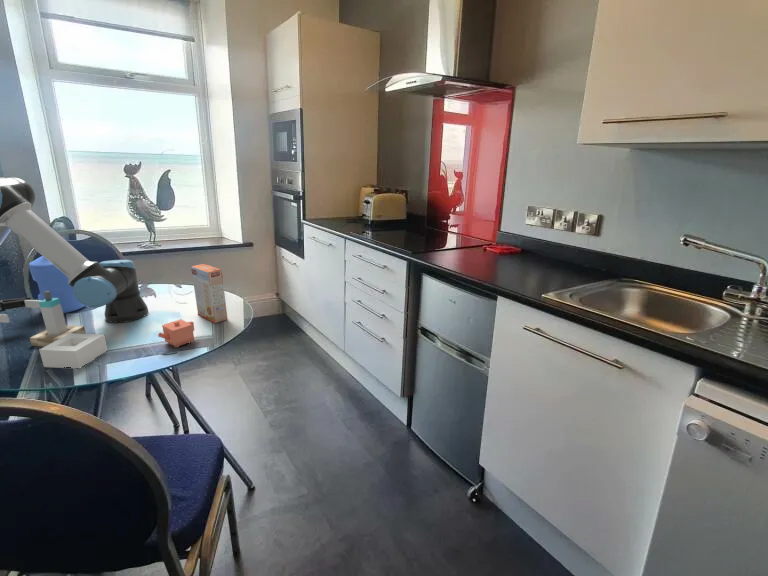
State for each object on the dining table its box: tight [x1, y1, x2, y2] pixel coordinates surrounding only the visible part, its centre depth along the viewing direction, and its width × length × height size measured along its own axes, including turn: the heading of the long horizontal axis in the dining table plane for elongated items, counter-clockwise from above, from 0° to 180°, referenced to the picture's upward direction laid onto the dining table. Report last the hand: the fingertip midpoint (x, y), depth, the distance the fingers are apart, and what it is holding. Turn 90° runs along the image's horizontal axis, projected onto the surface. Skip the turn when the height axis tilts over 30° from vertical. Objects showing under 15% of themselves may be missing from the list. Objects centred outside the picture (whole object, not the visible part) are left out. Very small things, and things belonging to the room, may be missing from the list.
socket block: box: [38, 333, 108, 369], centre depth 135 cm, size 12×12×6 cm
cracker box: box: [190, 263, 228, 324], centre depth 166 cm, size 14×6×21 cm, turn 48°
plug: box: [39, 291, 68, 336], centre depth 147 cm, size 4×4×18 cm
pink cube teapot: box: [157, 318, 196, 348], centre depth 145 cm, size 8×12×8 cm, turn 141°
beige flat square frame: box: [29, 324, 87, 347], centre depth 149 cm, size 11×11×3 cm
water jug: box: [28, 255, 86, 314], centre depth 174 cm, size 16×16×28 cm
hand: (26, 311), depth 147 cm, fingers open, 13 cm apart
